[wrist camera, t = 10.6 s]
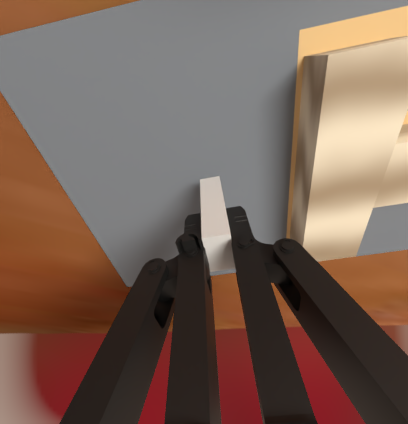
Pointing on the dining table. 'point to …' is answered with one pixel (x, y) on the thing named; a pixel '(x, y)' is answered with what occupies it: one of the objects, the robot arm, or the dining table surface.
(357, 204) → the t block
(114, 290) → the dining table surface
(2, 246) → the dining table surface
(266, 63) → the push mat
